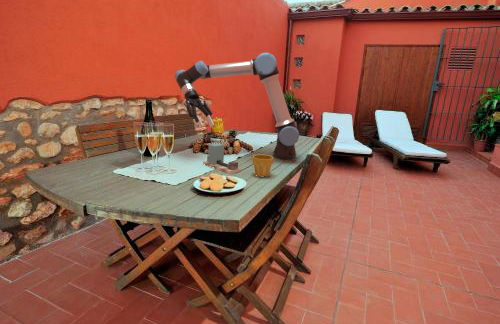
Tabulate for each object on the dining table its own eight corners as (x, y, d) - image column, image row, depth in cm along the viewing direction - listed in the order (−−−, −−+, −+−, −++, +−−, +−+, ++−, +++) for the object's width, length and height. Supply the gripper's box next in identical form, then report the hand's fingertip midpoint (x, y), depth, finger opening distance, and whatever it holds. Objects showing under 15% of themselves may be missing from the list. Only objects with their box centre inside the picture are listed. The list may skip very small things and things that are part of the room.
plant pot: (247, 175, 140) (248, 156, 138) (257, 171, 149) (258, 153, 147) (266, 180, 136) (268, 160, 133) (275, 174, 145) (276, 156, 142)
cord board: (203, 164, 156) (203, 155, 154) (214, 162, 161) (214, 153, 160) (229, 174, 141) (230, 164, 140) (241, 171, 147) (241, 162, 145)
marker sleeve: (208, 162, 153) (208, 144, 151) (217, 160, 158) (218, 143, 156) (213, 164, 150) (214, 146, 148) (223, 162, 155) (224, 145, 152)
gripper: (201, 98, 171) (217, 129, 164) (172, 97, 157) (189, 131, 150) (207, 89, 166) (224, 121, 159) (177, 88, 152) (195, 122, 146)
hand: (207, 126), depth 155 cm, fingers open, 7 cm apart
